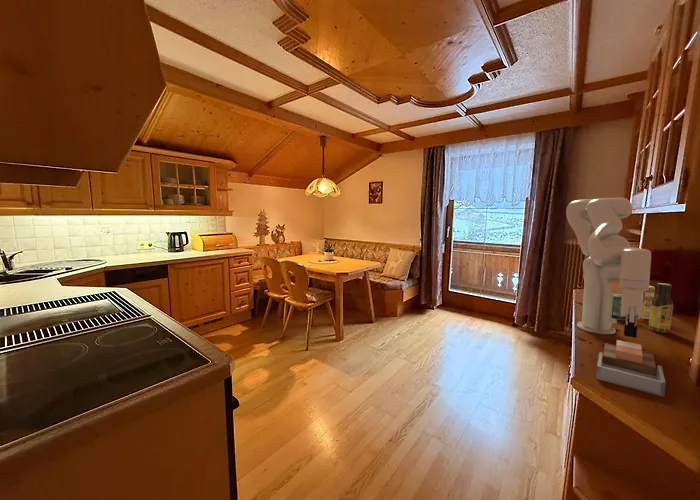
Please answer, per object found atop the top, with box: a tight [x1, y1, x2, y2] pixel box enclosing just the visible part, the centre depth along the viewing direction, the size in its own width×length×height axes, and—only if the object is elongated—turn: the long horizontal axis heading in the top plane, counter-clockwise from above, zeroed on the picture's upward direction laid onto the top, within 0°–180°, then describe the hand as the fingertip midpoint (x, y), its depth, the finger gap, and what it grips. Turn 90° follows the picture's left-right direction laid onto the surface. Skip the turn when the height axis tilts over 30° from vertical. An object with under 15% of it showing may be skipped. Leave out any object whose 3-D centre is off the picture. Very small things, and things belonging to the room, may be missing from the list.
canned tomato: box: [611, 292, 626, 321], centre depth 139 cm, size 8×8×11 cm
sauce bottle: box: [648, 282, 674, 334], centre depth 122 cm, size 6×6×20 cm
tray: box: [595, 351, 667, 398], centre depth 88 cm, size 12×14×4 cm
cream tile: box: [615, 339, 643, 351], centre depth 98 cm, size 5×6×2 cm
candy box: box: [640, 285, 656, 320], centre depth 139 cm, size 9×4×15 cm, turn 171°
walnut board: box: [602, 342, 657, 376], centre depth 97 cm, size 13×12×3 cm
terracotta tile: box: [616, 345, 643, 364], centre depth 94 cm, size 5×6×2 cm
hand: (630, 336), depth 103 cm, fingers closed
